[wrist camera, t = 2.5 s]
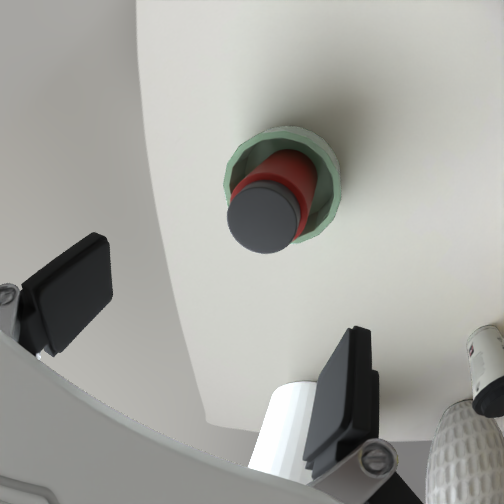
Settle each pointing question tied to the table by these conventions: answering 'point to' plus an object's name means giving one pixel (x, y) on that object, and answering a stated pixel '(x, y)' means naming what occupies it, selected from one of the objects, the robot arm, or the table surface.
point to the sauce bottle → (273, 202)
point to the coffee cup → (487, 371)
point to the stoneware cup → (311, 146)
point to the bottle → (286, 433)
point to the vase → (465, 459)
